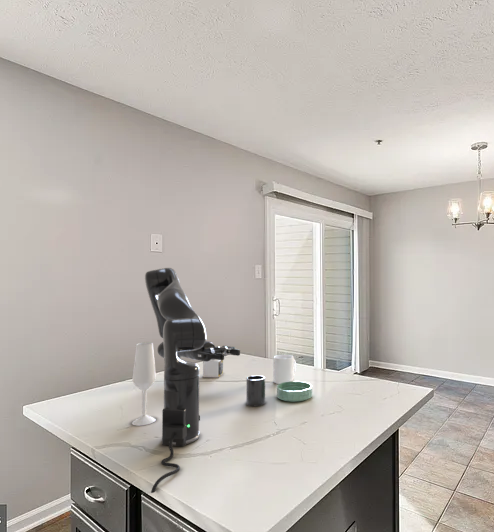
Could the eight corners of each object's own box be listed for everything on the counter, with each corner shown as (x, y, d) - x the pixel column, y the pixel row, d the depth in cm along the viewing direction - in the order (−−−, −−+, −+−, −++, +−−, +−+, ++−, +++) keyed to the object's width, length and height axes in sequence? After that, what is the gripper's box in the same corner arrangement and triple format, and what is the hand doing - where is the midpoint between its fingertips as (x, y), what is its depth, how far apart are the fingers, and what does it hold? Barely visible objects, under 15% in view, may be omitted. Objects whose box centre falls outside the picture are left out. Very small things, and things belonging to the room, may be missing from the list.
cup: (261, 406, 130) (261, 380, 130) (243, 405, 131) (243, 379, 131) (267, 400, 136) (267, 375, 136) (250, 399, 137) (250, 375, 137)
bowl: (308, 403, 133) (308, 392, 133) (272, 401, 135) (272, 390, 135) (315, 392, 146) (315, 381, 146) (281, 390, 148) (281, 380, 148)
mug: (303, 379, 163) (303, 355, 163) (283, 386, 154) (283, 359, 154) (289, 376, 169) (289, 352, 169) (269, 382, 160) (269, 356, 160)
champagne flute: (143, 426, 113) (144, 346, 113) (126, 423, 115) (127, 344, 116) (160, 418, 119) (161, 342, 120) (144, 416, 122) (144, 341, 122)
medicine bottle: (218, 377, 167) (218, 350, 168) (202, 377, 167) (202, 350, 168) (223, 373, 174) (223, 347, 175) (207, 373, 174) (207, 347, 175)
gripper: (185, 343, 141) (217, 348, 133) (213, 337, 153) (244, 341, 146) (185, 363, 141) (217, 369, 133) (213, 356, 153) (244, 361, 145)
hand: (231, 354), depth 139 cm, fingers open, 8 cm apart
